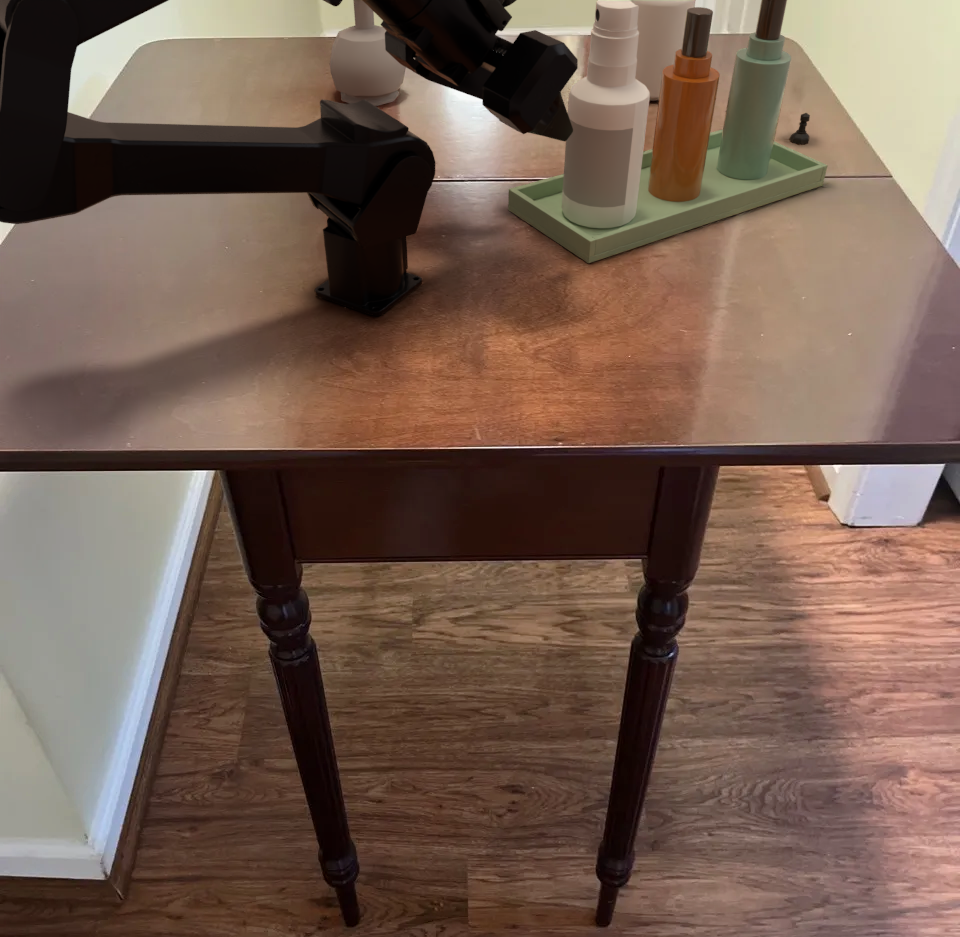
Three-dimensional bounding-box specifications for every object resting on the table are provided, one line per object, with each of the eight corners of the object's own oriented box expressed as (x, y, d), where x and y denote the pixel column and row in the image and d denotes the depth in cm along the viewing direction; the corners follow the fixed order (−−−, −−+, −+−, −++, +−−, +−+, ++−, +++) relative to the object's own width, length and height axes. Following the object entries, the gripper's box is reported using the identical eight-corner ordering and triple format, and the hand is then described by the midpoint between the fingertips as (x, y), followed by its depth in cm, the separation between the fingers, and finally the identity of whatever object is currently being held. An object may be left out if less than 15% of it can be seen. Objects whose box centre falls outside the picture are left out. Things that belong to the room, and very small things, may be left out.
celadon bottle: (757, 184, 93) (793, 6, 82) (708, 172, 95) (738, -3, 84) (774, 166, 96) (811, -8, 86) (727, 155, 98) (757, -16, 88)
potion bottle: (404, 109, 109) (396, -69, 97) (326, 108, 109) (308, -70, 97) (410, 83, 116) (403, -87, 104) (336, 81, 116) (321, -88, 104)
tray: (588, 263, 82) (590, 241, 81) (507, 210, 90) (508, 188, 88) (822, 185, 94) (828, 165, 93) (734, 144, 102) (737, 124, 101)
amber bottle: (688, 206, 89) (717, 22, 79) (639, 193, 91) (660, 13, 81) (708, 187, 92) (738, 8, 82) (660, 175, 94) (684, -1, 84)
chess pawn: (813, 140, 103) (819, 112, 101) (803, 146, 102) (809, 117, 100) (796, 135, 104) (803, 107, 102) (786, 140, 103) (792, 112, 101)
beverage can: (629, 106, 110) (641, -7, 102) (603, 82, 116) (613, -26, 108) (693, 100, 112) (710, -12, 104) (665, 77, 118) (679, -31, 110)
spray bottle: (551, 201, 90) (563, -7, 78) (619, 193, 91) (641, -12, 79) (575, 234, 85) (592, 17, 73) (647, 225, 86) (674, 11, 74)
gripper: (564, -90, 59) (674, 65, 71) (412, -136, 71) (528, 3, 82) (456, 64, 61) (581, 190, 72) (325, -5, 72) (451, 113, 84)
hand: (534, 117), depth 78 cm, fingers open, 9 cm apart
